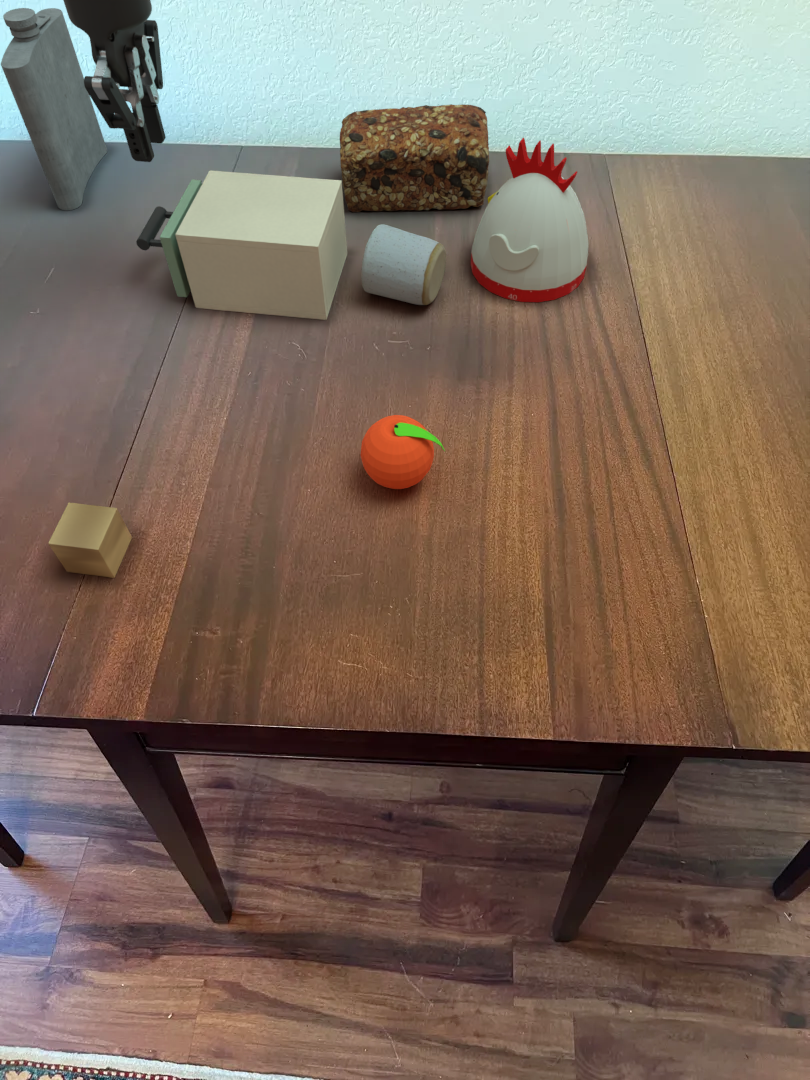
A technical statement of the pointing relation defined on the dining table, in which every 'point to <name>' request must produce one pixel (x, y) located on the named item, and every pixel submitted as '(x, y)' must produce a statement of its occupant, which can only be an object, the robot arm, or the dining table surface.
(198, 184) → the drawer
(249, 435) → the dining table surface
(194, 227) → the drawer cabinet
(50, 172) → the hip flask
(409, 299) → the ceramic mug
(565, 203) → the kitchen timer
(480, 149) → the bread
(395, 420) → the clementine
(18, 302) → the dining table surface
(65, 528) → the block
